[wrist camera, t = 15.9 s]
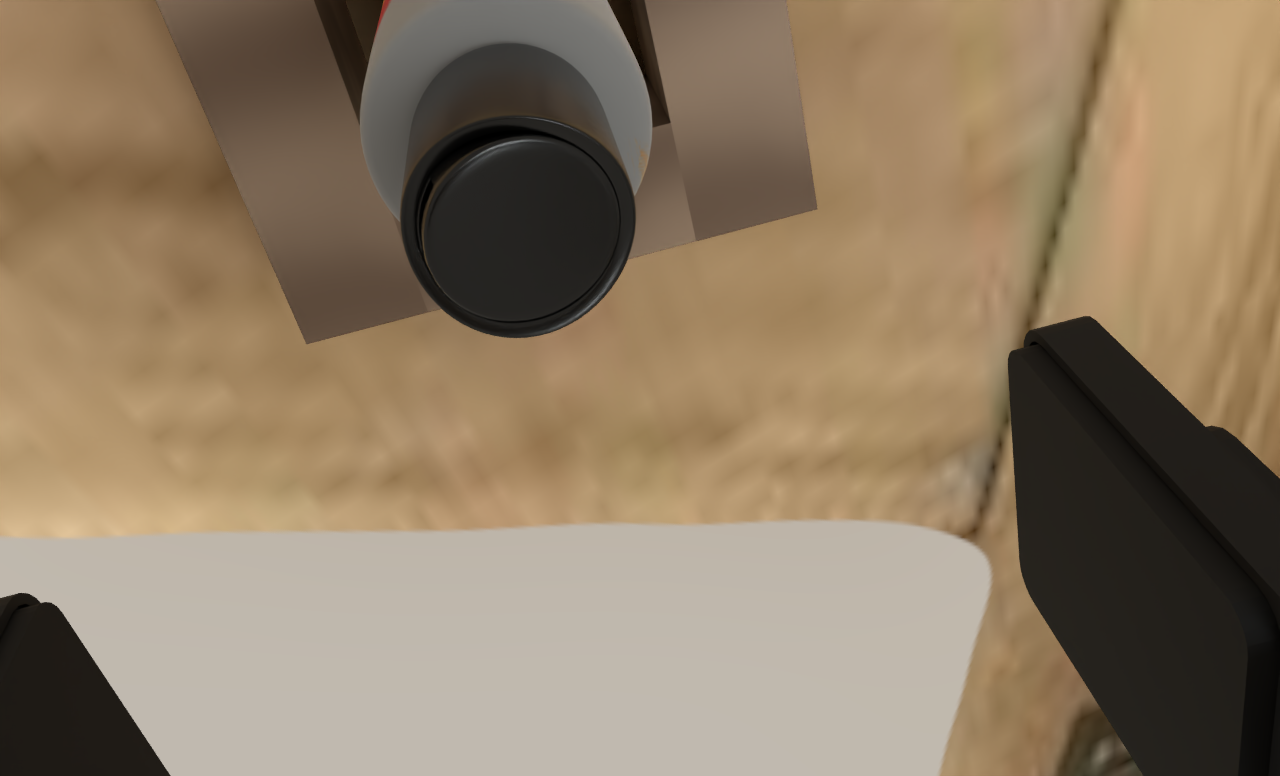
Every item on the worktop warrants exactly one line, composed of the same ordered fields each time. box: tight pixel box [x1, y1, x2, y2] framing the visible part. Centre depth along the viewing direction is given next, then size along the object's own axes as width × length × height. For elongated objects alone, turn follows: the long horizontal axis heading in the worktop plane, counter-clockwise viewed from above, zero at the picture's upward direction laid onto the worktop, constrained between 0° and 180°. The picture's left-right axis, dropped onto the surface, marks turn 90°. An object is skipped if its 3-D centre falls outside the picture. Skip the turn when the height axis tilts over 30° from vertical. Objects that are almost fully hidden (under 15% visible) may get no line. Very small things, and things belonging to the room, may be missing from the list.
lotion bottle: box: [360, 0, 652, 338], centre depth 26 cm, size 6×6×20 cm
